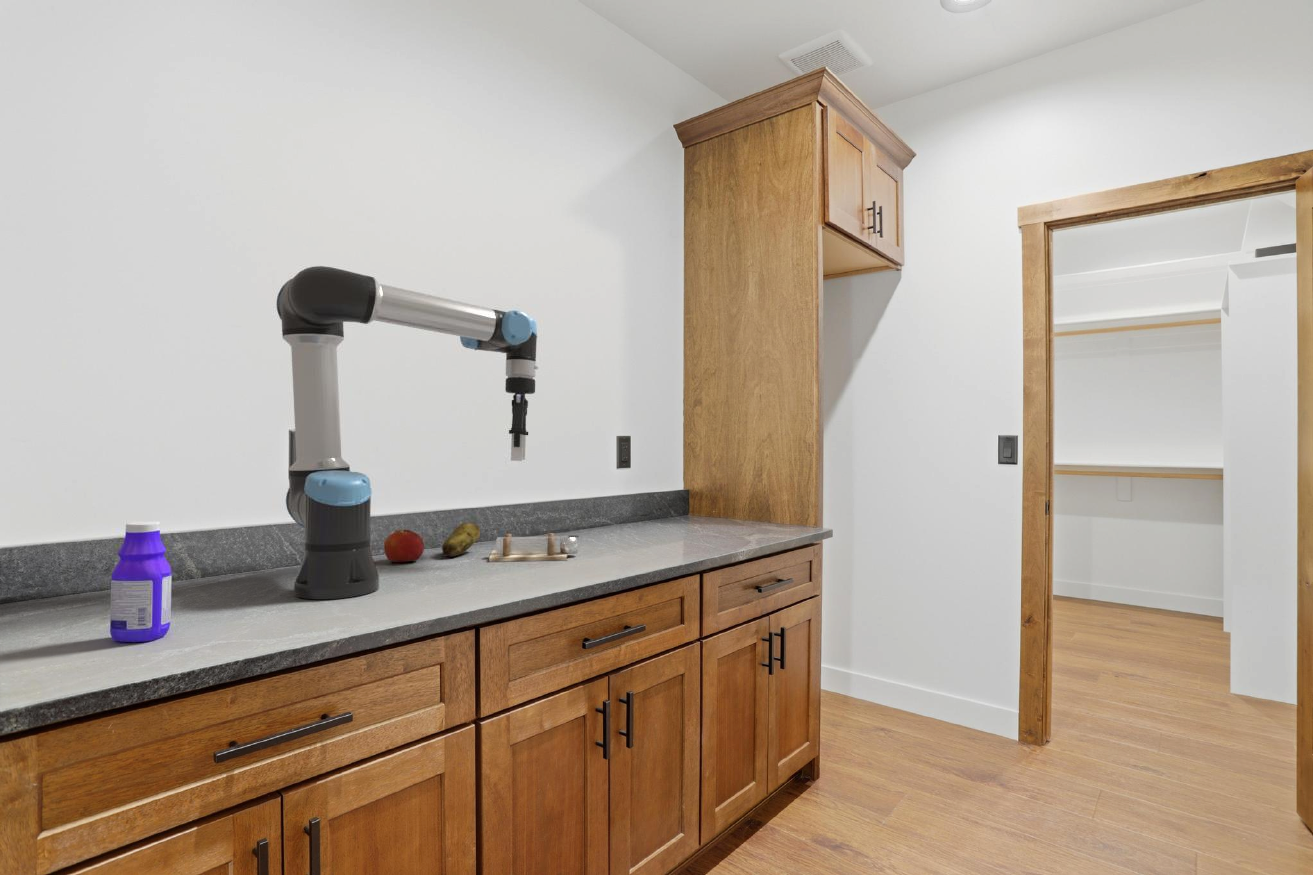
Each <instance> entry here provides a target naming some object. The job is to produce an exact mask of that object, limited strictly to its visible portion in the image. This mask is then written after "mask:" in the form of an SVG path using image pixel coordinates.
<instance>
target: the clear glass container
mask: <svg viewBox="0 0 1313 875" xmlns="http://www.w3.org/2000/svg"><path fill="white" fill-rule="evenodd" d="M550 537H554V554H567V555H574V554H578V548H579V547H578V545H579V544H578V542H579V541H578V538H579V534H568V535H562V536H560V535H558V536H555V535H554V536H550ZM503 538H510V555H515V554H548V536H511V537H505V536H498V537H496V548H495V550H496V555H503Z"/></svg>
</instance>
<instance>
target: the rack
mask: <svg viewBox="0 0 1313 875" xmlns="http://www.w3.org/2000/svg"><path fill="white" fill-rule="evenodd" d="M550 536H555V533H553V532H550V533H549V532H548V533H547V537H548V554H515V555H510V538H503V555H496V549H495V550H494V549H493V550H492V551H491V554H490V555H489V557H488V562H489V563H495V562H497V563H499V562H501V563H503V562H505V563H507V562H544V561H545V562H550V561H568V554H554V537H550ZM504 537H512V533H505V534H504Z"/></svg>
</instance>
